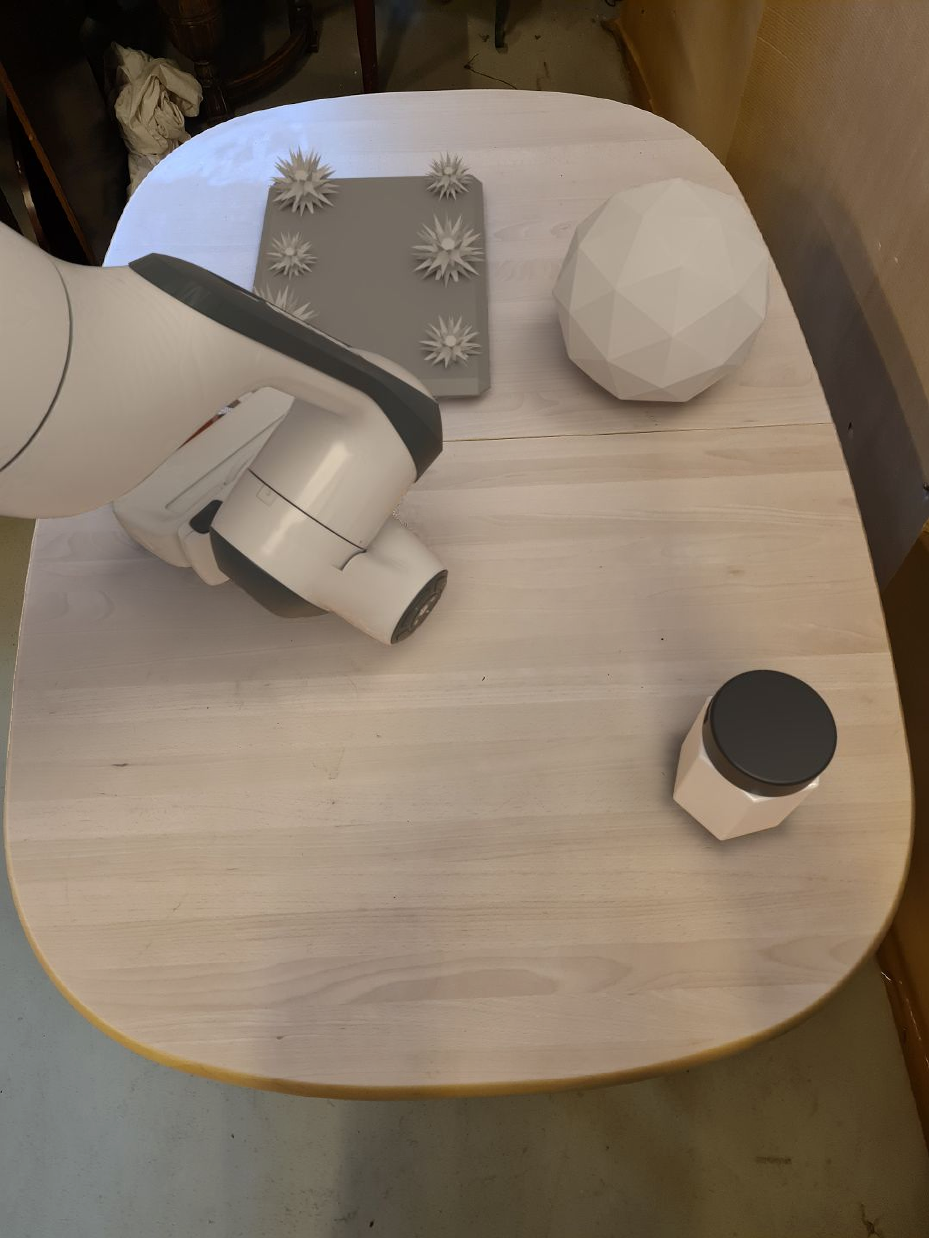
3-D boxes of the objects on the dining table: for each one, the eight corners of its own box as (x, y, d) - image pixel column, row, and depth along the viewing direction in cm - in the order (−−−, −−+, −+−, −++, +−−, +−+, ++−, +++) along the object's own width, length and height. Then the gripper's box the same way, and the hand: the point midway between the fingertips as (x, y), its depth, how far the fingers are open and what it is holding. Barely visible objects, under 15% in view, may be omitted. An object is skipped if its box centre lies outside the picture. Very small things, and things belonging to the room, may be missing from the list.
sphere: (658, 388, 95) (792, 229, 84) (679, 479, 80) (847, 299, 69) (517, 293, 90) (640, 109, 79) (511, 370, 74) (663, 155, 63)
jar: (760, 723, 68) (810, 654, 58) (804, 821, 64) (867, 765, 54) (653, 749, 67) (684, 684, 57) (692, 850, 63) (733, 800, 53)
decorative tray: (490, 409, 85) (491, 330, 76) (232, 415, 85) (203, 337, 77) (482, 192, 102) (482, 107, 94) (267, 197, 103) (247, 114, 94)
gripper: (366, 399, 70) (255, 323, 75) (171, 556, 63) (61, 460, 68) (375, 450, 76) (270, 376, 81) (196, 599, 69) (92, 508, 73)
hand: (173, 416), depth 74 cm, fingers closed on pot, 6 cm apart
